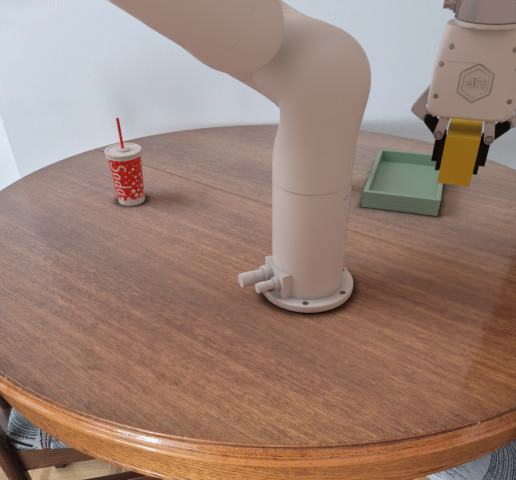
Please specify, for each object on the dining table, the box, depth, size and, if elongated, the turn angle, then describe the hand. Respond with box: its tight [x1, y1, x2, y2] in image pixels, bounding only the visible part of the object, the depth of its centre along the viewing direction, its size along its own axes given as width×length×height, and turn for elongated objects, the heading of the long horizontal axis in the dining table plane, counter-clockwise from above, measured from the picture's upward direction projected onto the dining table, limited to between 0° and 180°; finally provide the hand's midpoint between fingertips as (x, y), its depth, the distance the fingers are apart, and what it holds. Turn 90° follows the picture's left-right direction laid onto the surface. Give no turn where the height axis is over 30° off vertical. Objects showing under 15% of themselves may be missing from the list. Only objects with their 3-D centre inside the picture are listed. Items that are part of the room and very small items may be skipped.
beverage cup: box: [104, 117, 146, 207], centre depth 91 cm, size 6×6×14 cm
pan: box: [361, 148, 444, 217], centre depth 97 cm, size 20×13×3 cm, turn 163°
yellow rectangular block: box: [437, 118, 484, 187], centre depth 70 cm, size 7×4×6 cm, turn 160°
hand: (456, 167), depth 72 cm, fingers closed on yellow rectangular block, 4 cm apart
